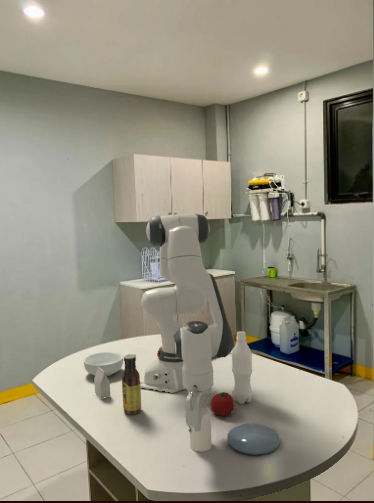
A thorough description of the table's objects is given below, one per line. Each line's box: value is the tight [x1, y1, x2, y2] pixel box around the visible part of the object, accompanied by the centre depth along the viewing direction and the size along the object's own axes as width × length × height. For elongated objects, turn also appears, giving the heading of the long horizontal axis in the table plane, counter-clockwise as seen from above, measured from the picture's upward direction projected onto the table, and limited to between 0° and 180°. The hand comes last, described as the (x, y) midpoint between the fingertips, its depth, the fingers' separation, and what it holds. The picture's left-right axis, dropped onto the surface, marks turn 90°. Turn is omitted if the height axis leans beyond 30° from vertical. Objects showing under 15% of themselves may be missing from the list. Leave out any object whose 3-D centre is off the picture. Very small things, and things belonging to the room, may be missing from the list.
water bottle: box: [231, 330, 254, 405], centre depth 144 cm, size 7×7×25 cm
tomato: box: [210, 391, 235, 417], centre depth 136 cm, size 8×8×7 cm
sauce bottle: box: [121, 353, 142, 415], centre depth 139 cm, size 6×6×20 cm
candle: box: [188, 406, 213, 452], centre depth 117 cm, size 6×6×15 cm
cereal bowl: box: [83, 351, 124, 377], centre depth 175 cm, size 17×17×7 cm
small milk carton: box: [93, 367, 111, 400], centre depth 154 cm, size 4×7×10 cm, turn 31°
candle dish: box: [226, 423, 281, 456], centre depth 118 cm, size 15×15×2 cm
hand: (199, 425), depth 117 cm, fingers closed on candle, 4 cm apart
